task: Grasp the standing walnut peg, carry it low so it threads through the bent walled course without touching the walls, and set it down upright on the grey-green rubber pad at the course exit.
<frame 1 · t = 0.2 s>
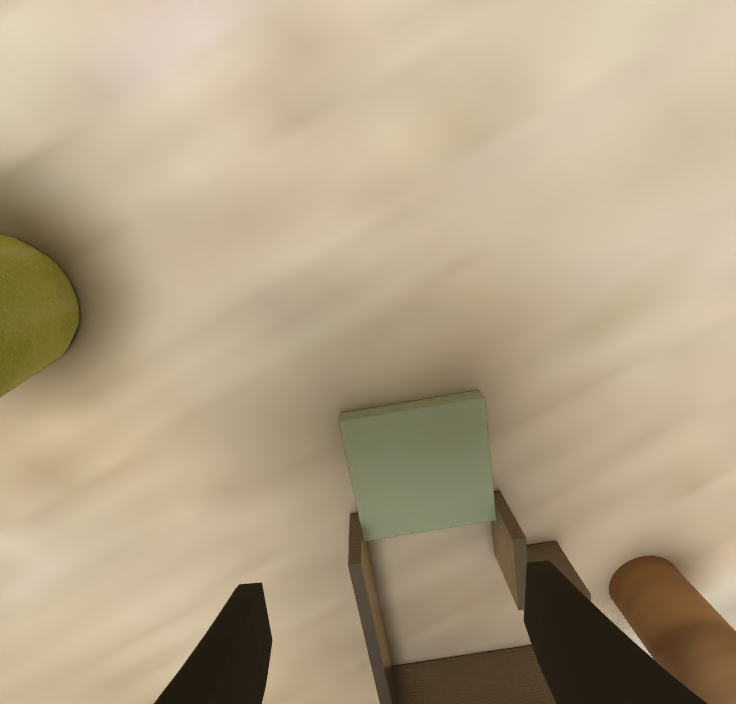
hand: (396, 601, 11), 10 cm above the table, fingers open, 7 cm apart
peg: (643, 583, 24), on the table
plant pot: (18, 302, 18), on the table
end pad: (418, 462, 21), on the table
walled course: (441, 615, 24), on the table
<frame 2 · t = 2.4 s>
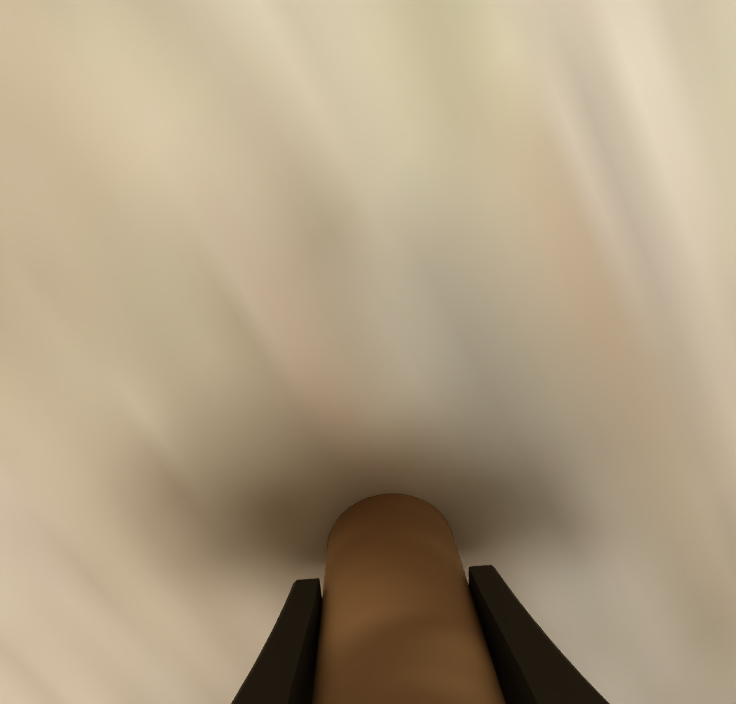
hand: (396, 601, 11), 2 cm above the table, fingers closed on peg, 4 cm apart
peg: (390, 548, 13), on the table, touching gripper
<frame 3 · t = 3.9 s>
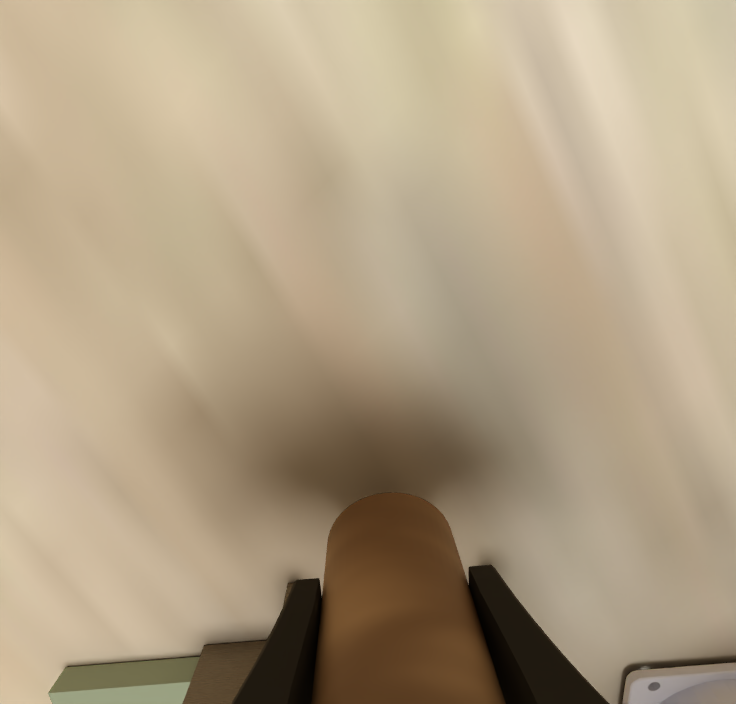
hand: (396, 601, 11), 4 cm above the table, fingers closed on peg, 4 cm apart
peg: (390, 546, 13), point 2 cm above the table, touching gripper
walled course: (399, 699, 18), on the table
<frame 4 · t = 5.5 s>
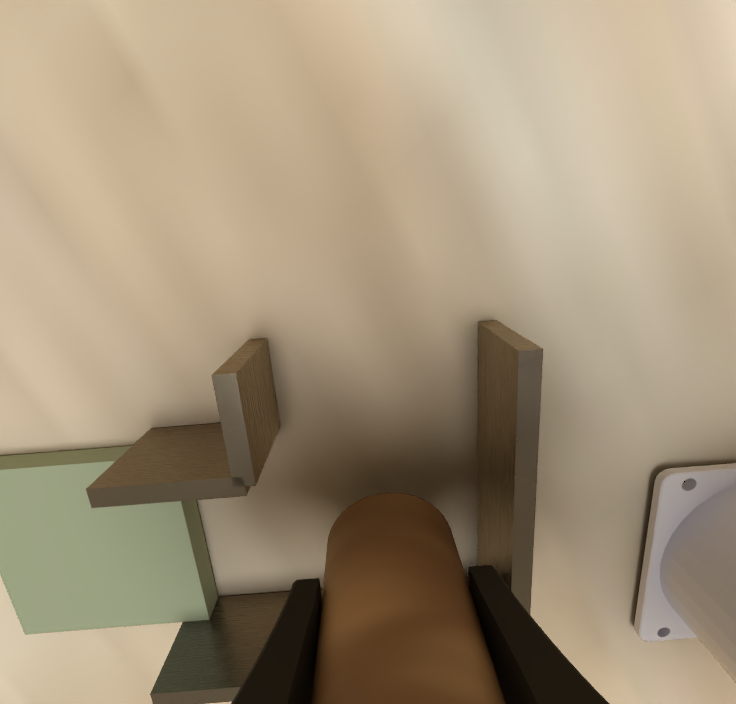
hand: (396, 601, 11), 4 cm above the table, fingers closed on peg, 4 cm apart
peg: (390, 547, 13), point 2 cm above the table, touching gripper
end pad: (109, 531, 15), on the table
walled course: (385, 509, 15), on the table
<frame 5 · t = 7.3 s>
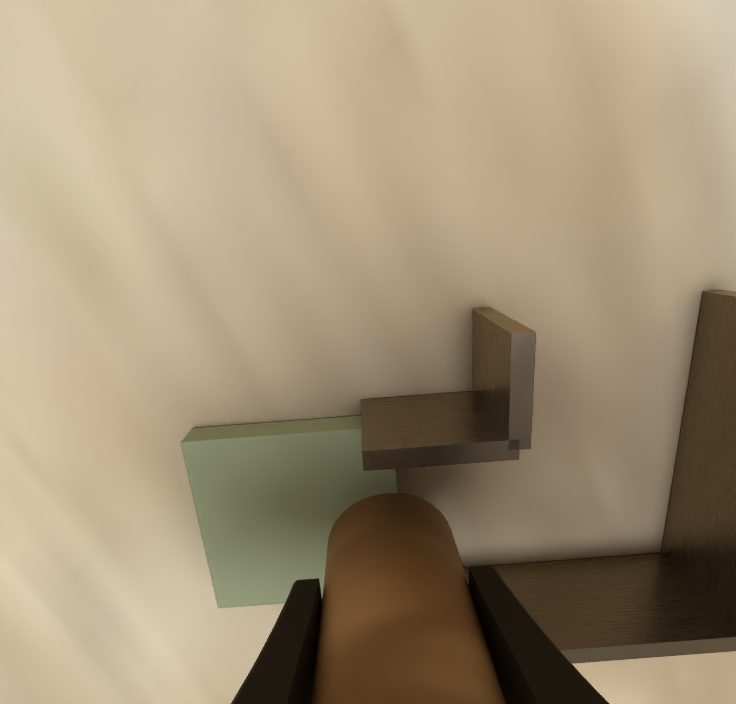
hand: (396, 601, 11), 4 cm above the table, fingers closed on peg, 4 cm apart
peg: (390, 547, 13), point 2 cm above the table, touching gripper
end pad: (303, 505, 15), on the table
walled course: (581, 484, 15), on the table
when the fingers open (4 cm above the table, at t = 8.8 s): peg stays where it is, resting on end pad.
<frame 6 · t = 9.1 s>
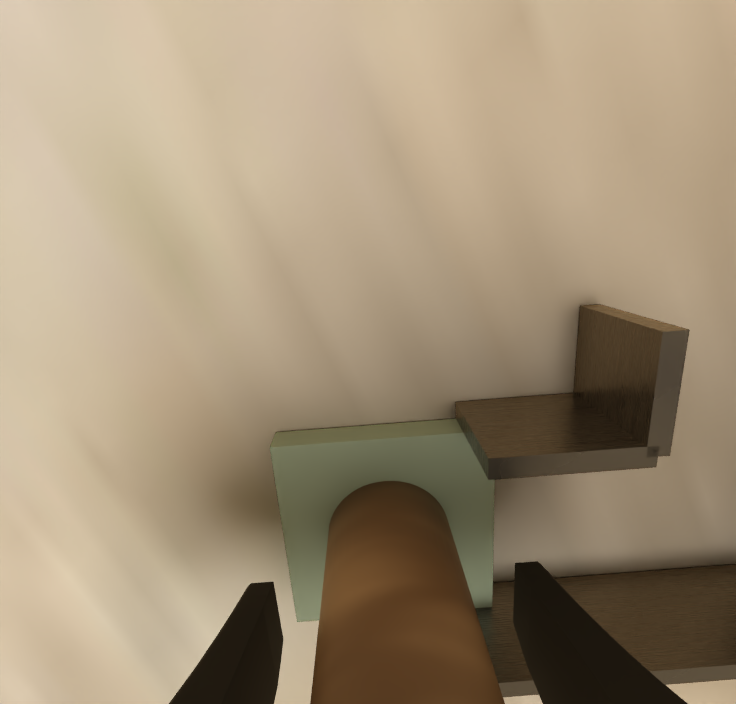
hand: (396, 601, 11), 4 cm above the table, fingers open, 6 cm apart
peg: (388, 533, 13), point 1 cm above the table, touching end pad
end pad: (387, 513, 14), on the table
walled course: (679, 490, 14), on the table
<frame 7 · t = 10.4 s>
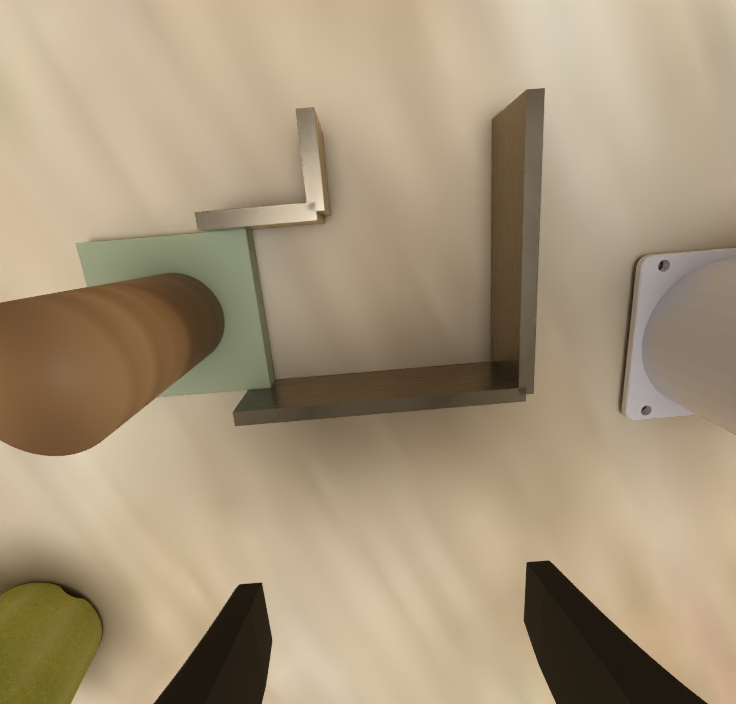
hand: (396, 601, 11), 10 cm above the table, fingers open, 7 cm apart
peg: (178, 319, 17), point 1 cm above the table, touching end pad
plant pot: (52, 618, 23), on the table
end pad: (187, 315, 18), on the table
walled course: (415, 295, 18), on the table
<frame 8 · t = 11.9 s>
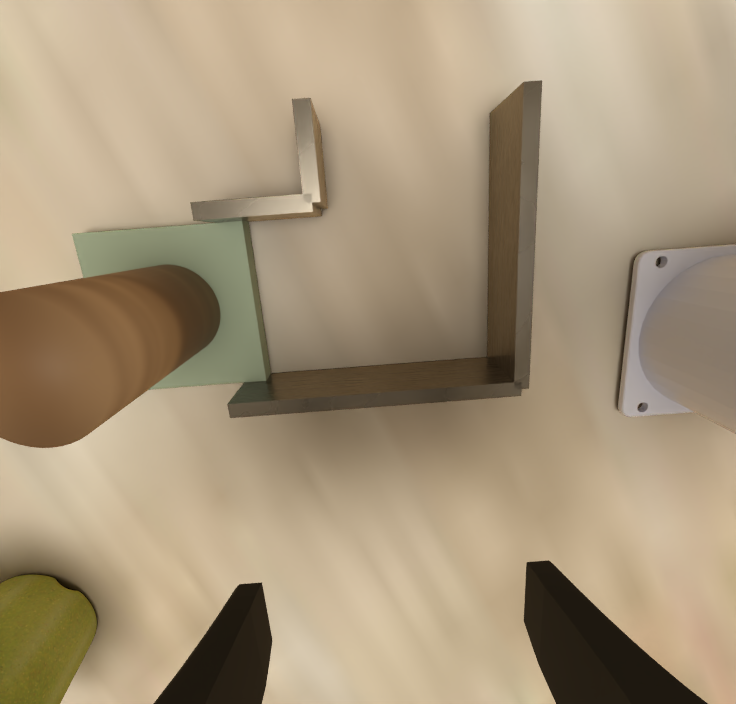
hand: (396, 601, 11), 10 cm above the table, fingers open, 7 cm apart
peg: (173, 311, 17), point 1 cm above the table, touching end pad
plant pot: (47, 610, 23), on the table
end pad: (184, 307, 18), on the table
walled course: (412, 290, 18), on the table
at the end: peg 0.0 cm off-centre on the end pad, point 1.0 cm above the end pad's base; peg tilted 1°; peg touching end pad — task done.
